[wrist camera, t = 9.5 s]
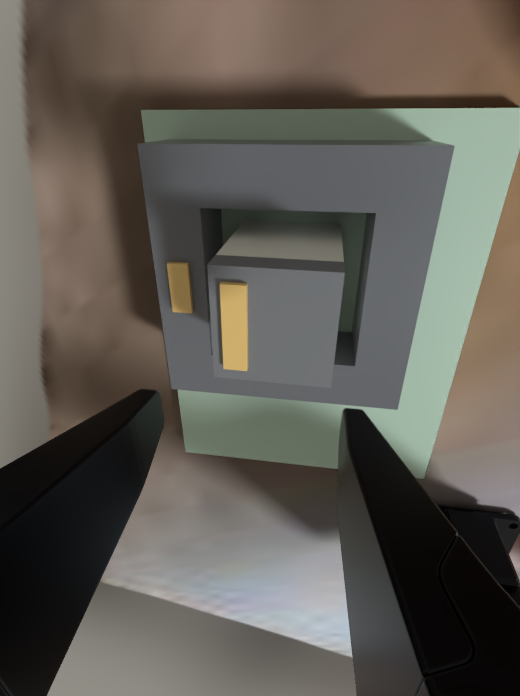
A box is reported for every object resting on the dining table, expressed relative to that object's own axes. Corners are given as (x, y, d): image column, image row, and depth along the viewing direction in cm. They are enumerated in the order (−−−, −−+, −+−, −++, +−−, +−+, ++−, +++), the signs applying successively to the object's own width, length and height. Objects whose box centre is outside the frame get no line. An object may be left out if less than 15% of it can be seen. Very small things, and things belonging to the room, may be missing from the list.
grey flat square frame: (388, 371, 19) (398, 412, 17) (191, 355, 21) (169, 391, 18) (433, 140, 14) (456, 145, 12) (168, 139, 16) (134, 144, 13)
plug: (331, 312, 18) (331, 391, 13) (245, 306, 19) (212, 380, 14) (340, 223, 16) (345, 275, 11) (245, 219, 17) (205, 266, 12)
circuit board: (421, 468, 23) (423, 479, 23) (189, 442, 25) (185, 451, 24) (522, 108, 14) (531, 107, 14) (149, 110, 16) (140, 110, 15)
